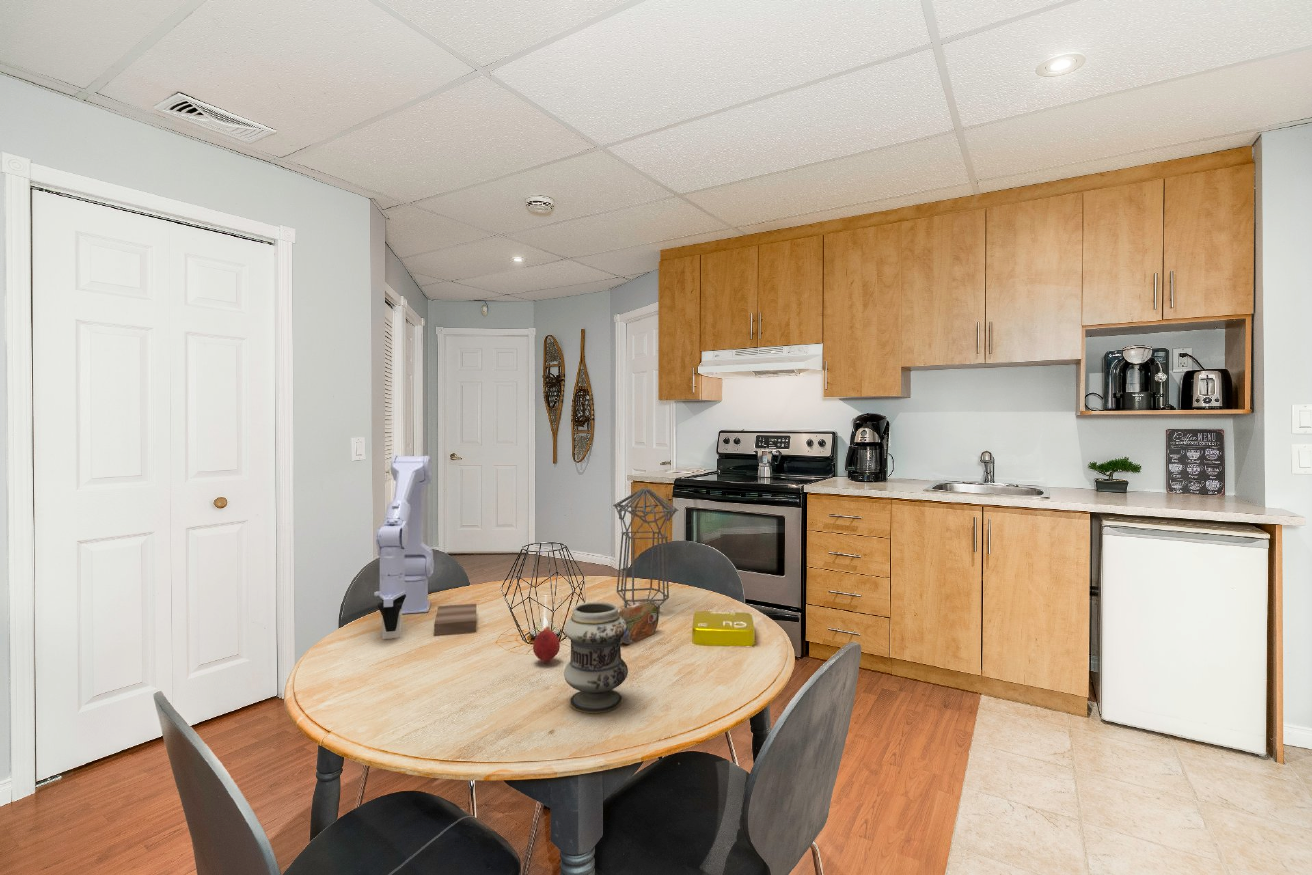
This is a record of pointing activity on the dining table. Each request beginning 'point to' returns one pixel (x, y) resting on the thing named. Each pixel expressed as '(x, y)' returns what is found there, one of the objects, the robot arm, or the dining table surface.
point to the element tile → (723, 629)
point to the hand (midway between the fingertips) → (392, 627)
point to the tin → (639, 621)
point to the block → (395, 633)
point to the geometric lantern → (669, 511)
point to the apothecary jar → (595, 656)
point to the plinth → (455, 619)
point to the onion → (546, 645)
